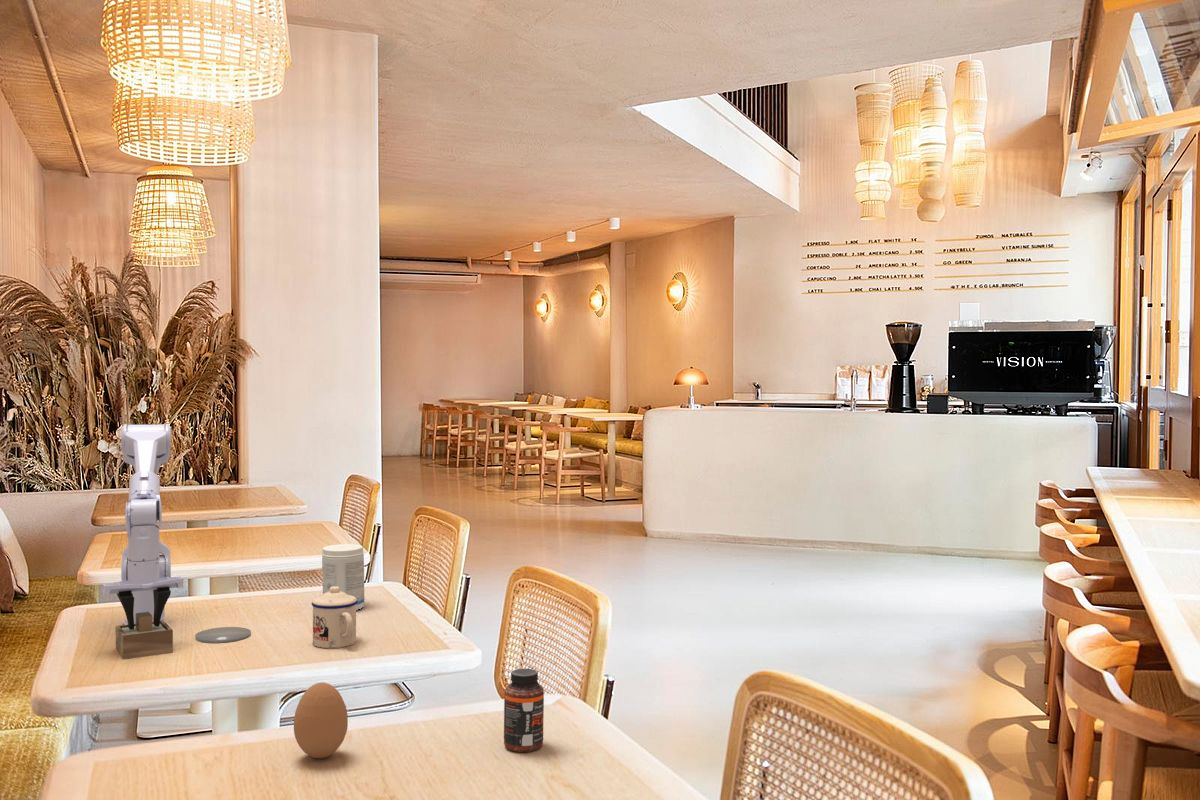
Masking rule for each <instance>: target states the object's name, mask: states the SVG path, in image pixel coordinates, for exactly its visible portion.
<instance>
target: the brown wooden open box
mask: <svg viewBox="0 0 1200 800" xmlns="http://www.w3.org/2000/svg"><path fill="white" fill-rule="evenodd" d="M165 621H166V620H165ZM165 621H164V620H163V621H160V624H161V625H162V626H163V627H164V628H165V629H166V630H161V631H153V632H145V633H137V634H129V635H126V634H125V633H124V632H123V630H122V629H121V628H125V627H128V625H124V624H123V625H115V649H116V652H118V654H119V655H120V657H121V658H122V660H125V659H133V658H142V657H147V656H149V657H150V656H157V655H165V654H171V653H174V648H173V647H174V643H173V642H174V641H173V640H174V639H173V638H174V637H173V636H174V634H173V633H174V631H173V628H172V627H171V626H170V625H169V626H168V625H167V624H166V623H165ZM152 624H154V622H152ZM134 626H136V624H134Z"/></svg>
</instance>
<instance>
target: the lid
mask: <svg viewBox="0 0 1200 800" xmlns="http://www.w3.org/2000/svg"><path fill="white" fill-rule="evenodd" d="M121 629H122V630H123V632H124V633H125V634H126V635H129V634H137V633H145V632H153V631H161V630H166V629H165V628H164V627H163V626H162V625H161V624H160V625H159V626H157V627H156V626H155V625H154V624H152V615H151V614H150V613H149V612H142V613H136V626H134V629H132V630H130V629H129V628H128V627H125V628H121Z"/></svg>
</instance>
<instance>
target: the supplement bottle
mask: <svg viewBox="0 0 1200 800" xmlns="http://www.w3.org/2000/svg"><path fill="white" fill-rule="evenodd" d="M510 673H511V674H510V681H511V683H510V684H508V685H507V686H506V687H505V689H504V697H503V699H504V701H503V702H504V704H503V705H504V706H503V709H504V710H503V716H504V717H503V745H504V747H505V748H506V749H508V750H509V751H512V752H515V753H516V752H517V753H529V752H534V751H537V750H539V749H540V748H542V746H543V744H544V709H545V708H544V707H545V706H544V705H545V704H544V703H545V697H544V696H545V691H544V687H543V686H542V685H541V684H539V682H538V680H539V675H538V674H539V672H538V670H536V669H533V668H516V669H513V670H512V671H511V672H510Z"/></svg>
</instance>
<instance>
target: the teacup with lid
mask: <svg viewBox="0 0 1200 800" xmlns="http://www.w3.org/2000/svg"><path fill="white" fill-rule="evenodd" d="M356 604H357V599H356V598H355V597H354V596H351V595H347V594H346V593H344V592H342V591H340V588H339V587H337V586H334V587H330V592H326V593H325V594H323V593H322V595H321V596H316V597H315V598H313V600H312V602H311V606H312V645H313V646H315V647H316V646H317V648H320V647H321V648H320V649H341V648H340V647H342V648H346V647H345V646H347V647H350V646H352V645H354V644H355V643H356V641H357V611H356ZM349 645H350V646H349Z"/></svg>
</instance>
